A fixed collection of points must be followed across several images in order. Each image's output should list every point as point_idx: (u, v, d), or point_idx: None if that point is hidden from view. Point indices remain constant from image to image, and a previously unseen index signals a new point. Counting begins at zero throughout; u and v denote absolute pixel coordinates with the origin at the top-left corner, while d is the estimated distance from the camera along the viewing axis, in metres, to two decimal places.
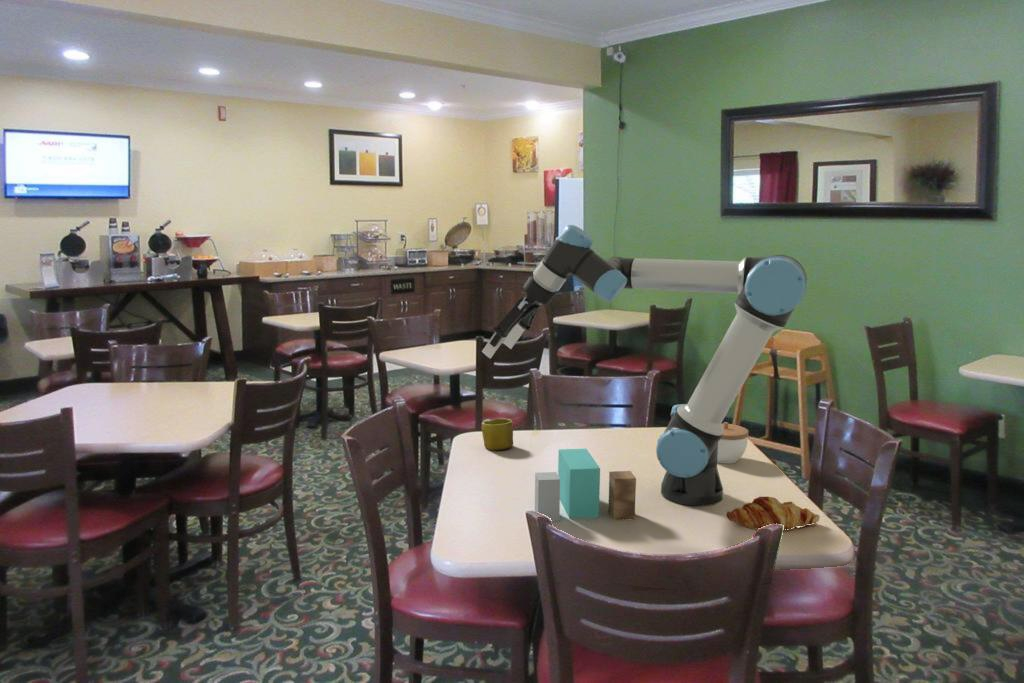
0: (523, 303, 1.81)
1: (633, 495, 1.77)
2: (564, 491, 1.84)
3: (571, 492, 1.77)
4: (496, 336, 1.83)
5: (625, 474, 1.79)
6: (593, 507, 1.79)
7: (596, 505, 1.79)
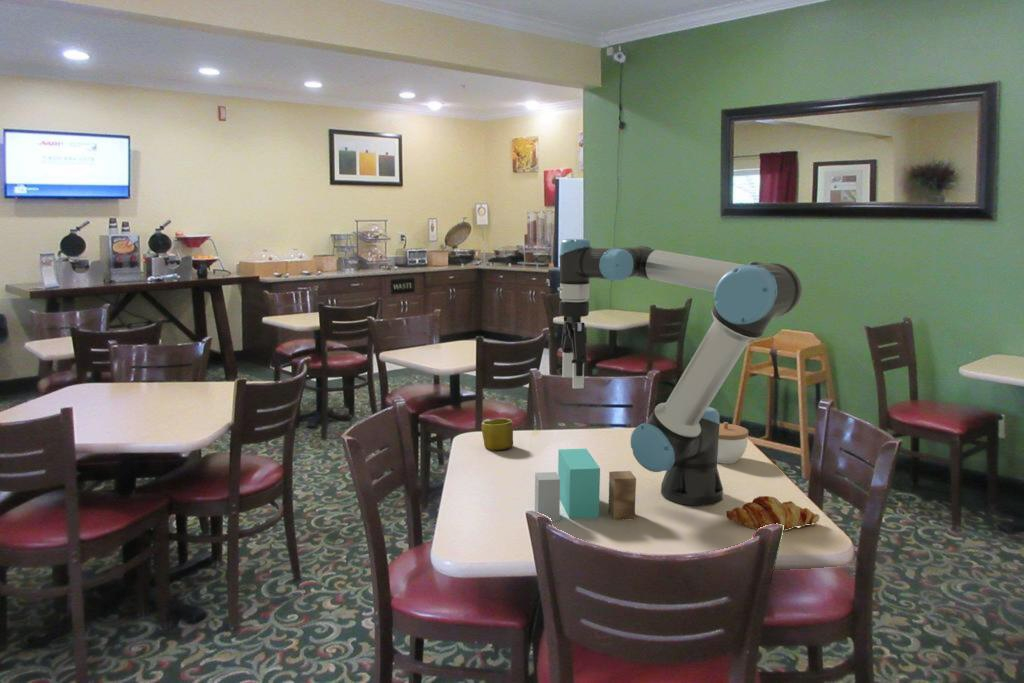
0: (580, 324, 1.90)
1: (633, 495, 1.77)
2: (564, 491, 1.84)
3: (571, 492, 1.77)
4: (579, 365, 1.90)
5: (625, 474, 1.79)
6: (593, 507, 1.79)
7: (596, 505, 1.79)
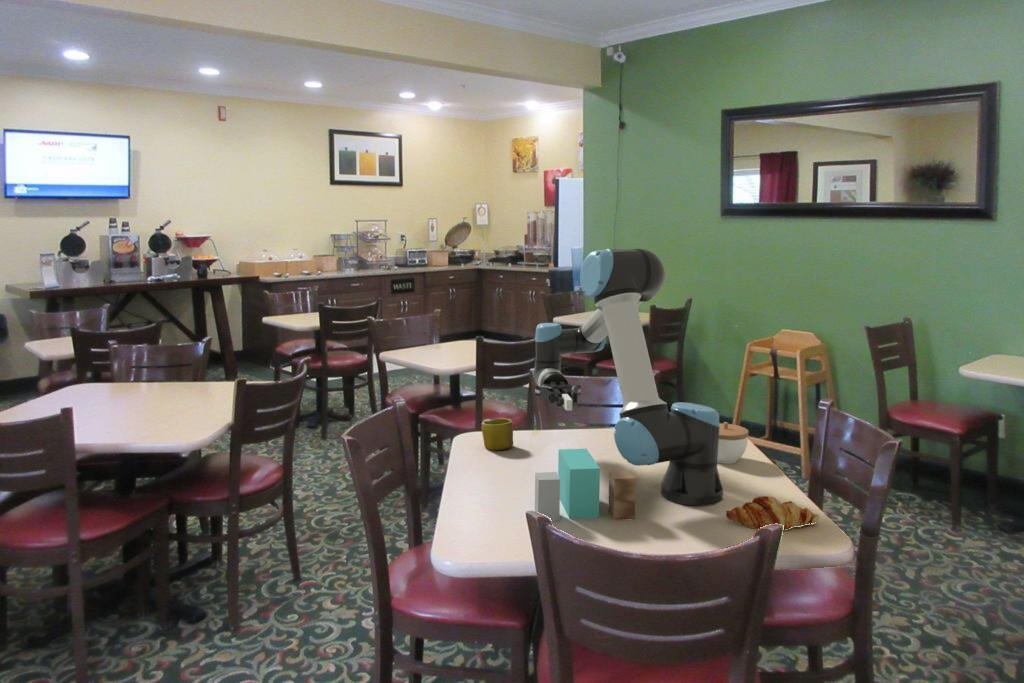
0: (535, 390, 2.09)
1: (633, 495, 1.77)
2: (564, 491, 1.84)
3: (571, 492, 1.77)
4: (557, 400, 2.00)
5: (625, 474, 1.79)
6: (593, 507, 1.79)
7: (596, 505, 1.79)
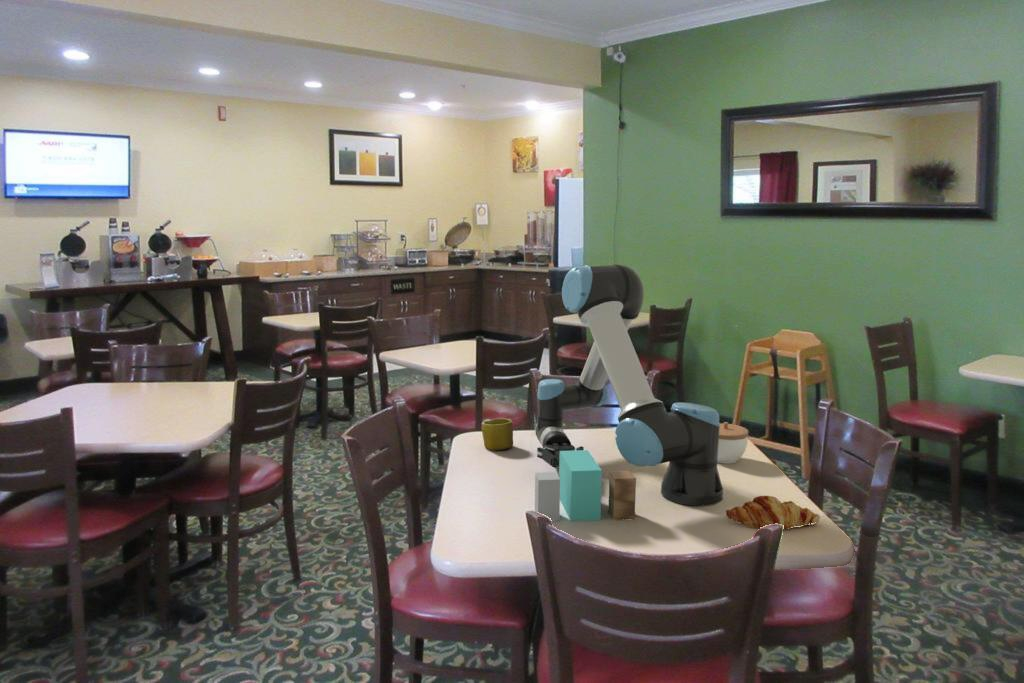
0: (537, 452, 2.06)
1: (633, 495, 1.77)
2: (565, 493, 1.82)
3: (572, 494, 1.76)
4: None
5: (625, 474, 1.79)
6: (595, 509, 1.77)
7: (597, 507, 1.77)
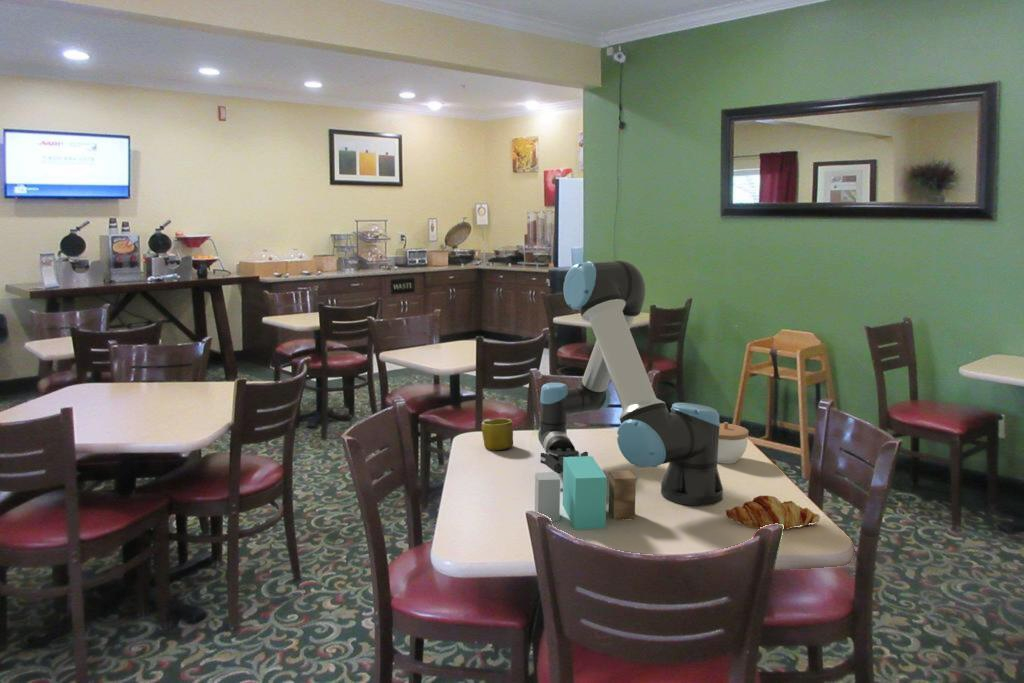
0: None
1: (633, 495, 1.77)
2: (569, 500, 1.78)
3: (576, 502, 1.71)
4: None
5: (625, 474, 1.79)
6: (599, 517, 1.72)
7: (602, 515, 1.72)
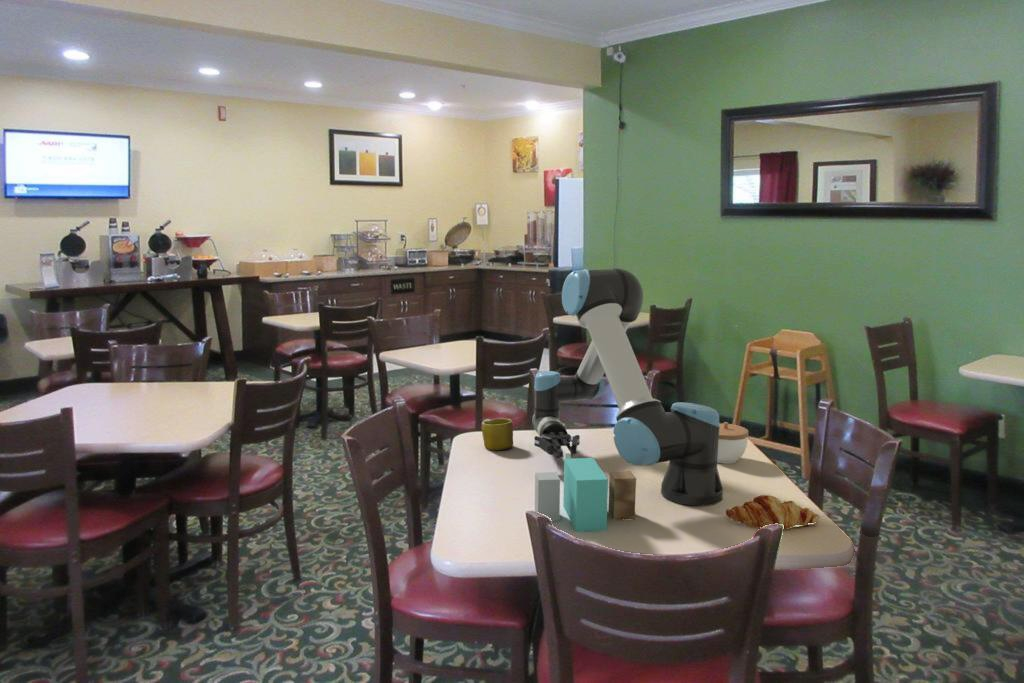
0: None
1: (633, 495, 1.77)
2: (570, 503, 1.77)
3: (577, 504, 1.70)
4: (556, 452, 2.03)
5: (625, 474, 1.79)
6: (600, 519, 1.71)
7: (603, 517, 1.71)
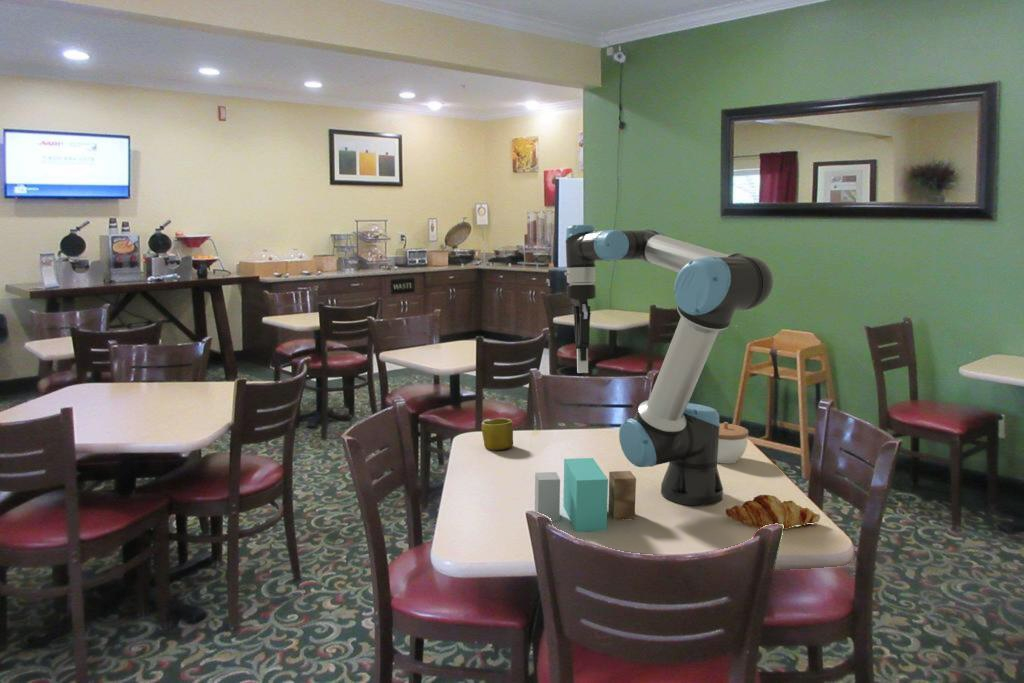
0: (586, 314, 1.98)
1: (633, 495, 1.77)
2: (570, 503, 1.77)
3: (577, 504, 1.70)
4: (582, 351, 2.03)
5: (625, 474, 1.79)
6: (600, 519, 1.71)
7: (603, 517, 1.71)
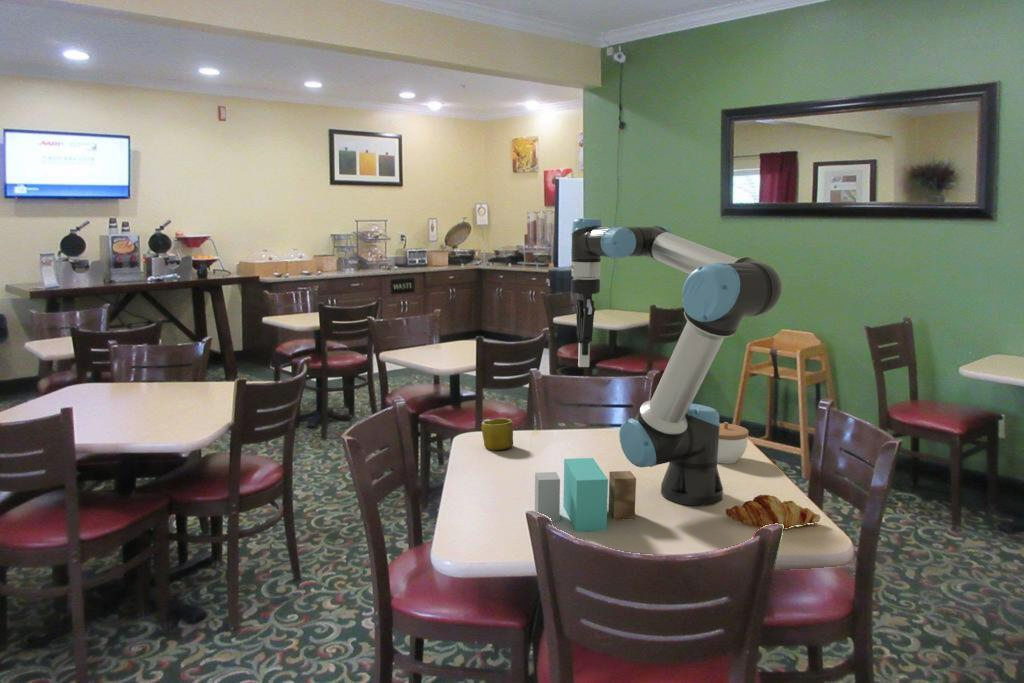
0: (590, 309, 1.97)
1: (633, 495, 1.77)
2: (570, 503, 1.77)
3: (577, 504, 1.70)
4: (584, 345, 2.03)
5: (625, 474, 1.79)
6: (600, 519, 1.71)
7: (603, 517, 1.71)
